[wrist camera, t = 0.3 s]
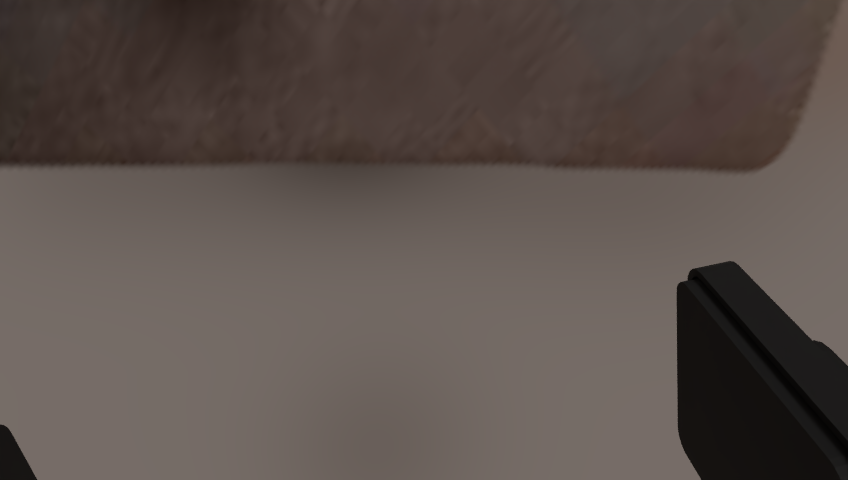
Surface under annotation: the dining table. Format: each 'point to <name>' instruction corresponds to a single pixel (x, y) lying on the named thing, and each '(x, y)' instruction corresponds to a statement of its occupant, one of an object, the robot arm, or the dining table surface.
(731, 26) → the dining table surface
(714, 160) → the dining table surface
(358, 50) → the dining table surface
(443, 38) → the dining table surface
